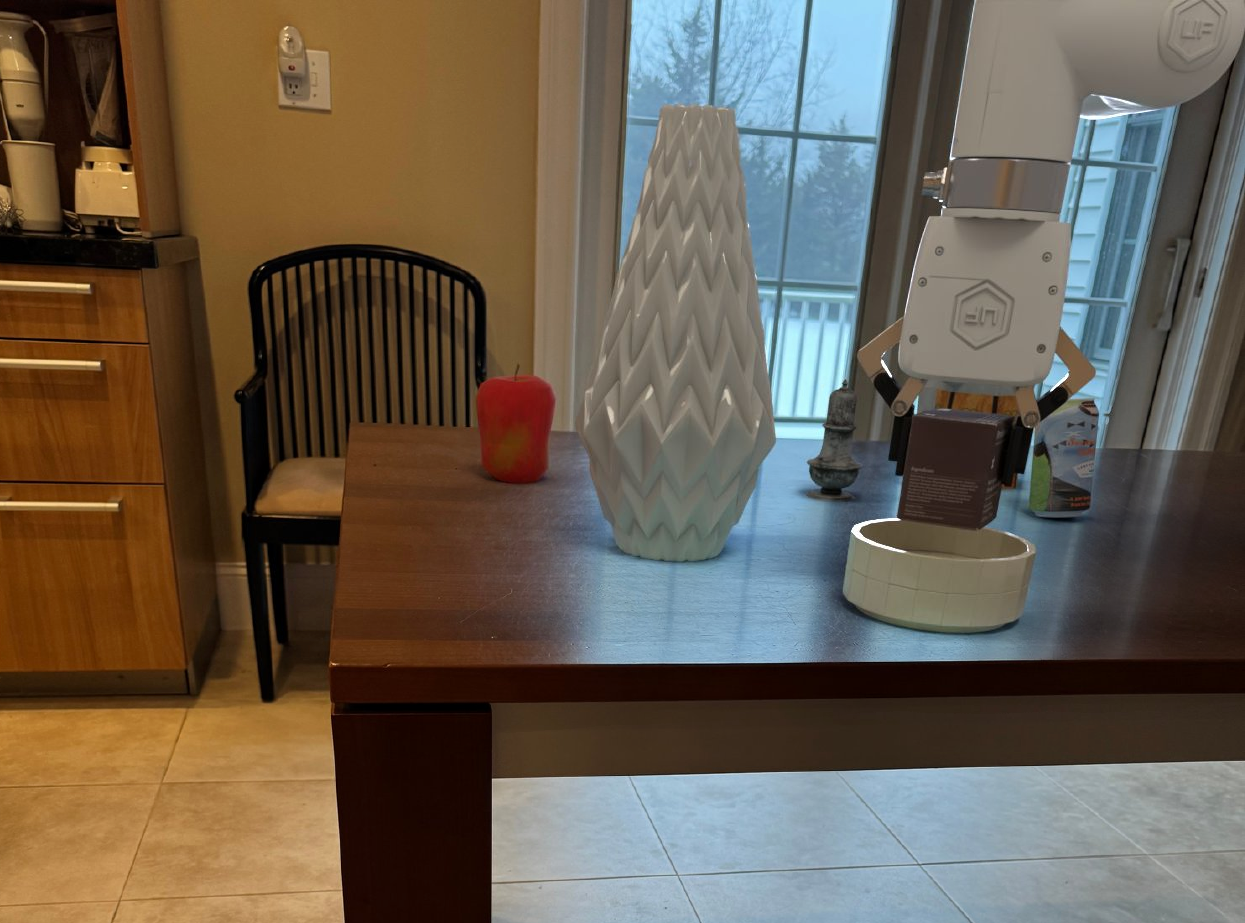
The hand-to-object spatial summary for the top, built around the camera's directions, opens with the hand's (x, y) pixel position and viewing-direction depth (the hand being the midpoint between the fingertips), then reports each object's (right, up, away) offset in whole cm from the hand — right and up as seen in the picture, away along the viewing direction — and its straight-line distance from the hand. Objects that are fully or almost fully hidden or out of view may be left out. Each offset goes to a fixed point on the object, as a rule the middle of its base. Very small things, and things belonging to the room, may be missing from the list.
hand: (953, 476), depth 84 cm
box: (0, -3, +2) cm, 3 cm away
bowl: (0, -9, +5) cm, 10 cm away
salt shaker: (-1, +11, +43) cm, 44 cm away
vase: (-20, -1, +18) cm, 27 cm away
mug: (+15, +16, +55) cm, 59 cm away
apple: (-35, +13, +43) cm, 57 cm away
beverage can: (+22, +8, +39) cm, 45 cm away
